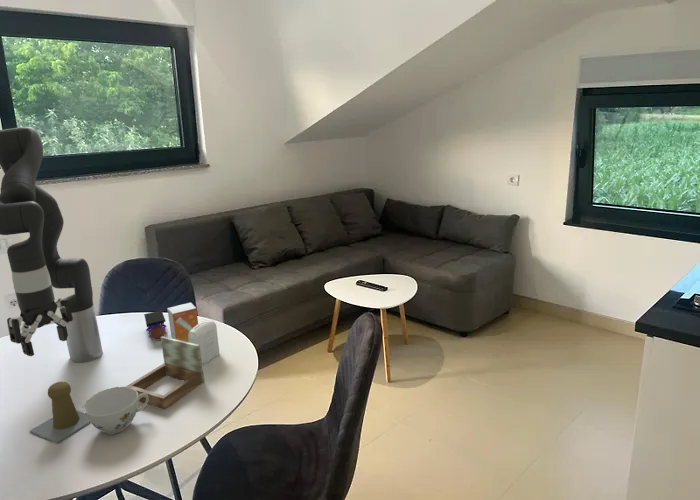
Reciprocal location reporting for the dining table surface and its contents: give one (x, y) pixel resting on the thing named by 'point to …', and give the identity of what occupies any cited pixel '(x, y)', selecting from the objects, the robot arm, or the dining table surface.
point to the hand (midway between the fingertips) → (47, 347)
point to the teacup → (113, 408)
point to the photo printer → (205, 339)
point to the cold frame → (173, 373)
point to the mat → (59, 435)
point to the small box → (182, 320)
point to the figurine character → (155, 324)
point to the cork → (62, 405)
